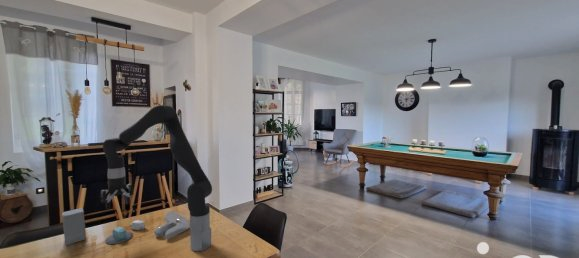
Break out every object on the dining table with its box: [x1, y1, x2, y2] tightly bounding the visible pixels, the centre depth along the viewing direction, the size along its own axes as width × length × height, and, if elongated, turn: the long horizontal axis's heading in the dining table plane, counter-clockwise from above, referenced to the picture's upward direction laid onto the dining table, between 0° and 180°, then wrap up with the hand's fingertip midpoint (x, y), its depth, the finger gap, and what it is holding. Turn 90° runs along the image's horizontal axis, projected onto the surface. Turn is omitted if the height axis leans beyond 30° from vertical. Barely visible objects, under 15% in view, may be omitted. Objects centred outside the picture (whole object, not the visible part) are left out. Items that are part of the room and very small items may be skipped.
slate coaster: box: [104, 231, 134, 245], centre depth 128 cm, size 12×12×1 cm
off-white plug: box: [129, 219, 146, 231], centre depth 139 cm, size 9×3×4 cm, turn 80°
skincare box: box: [61, 207, 87, 246], centre depth 125 cm, size 8×7×16 cm
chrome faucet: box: [153, 210, 190, 240], centre depth 137 cm, size 18×7×20 cm
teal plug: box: [111, 226, 127, 241], centre depth 127 cm, size 10×4×4 cm, turn 60°
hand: (118, 206), depth 126 cm, fingers open, 8 cm apart
